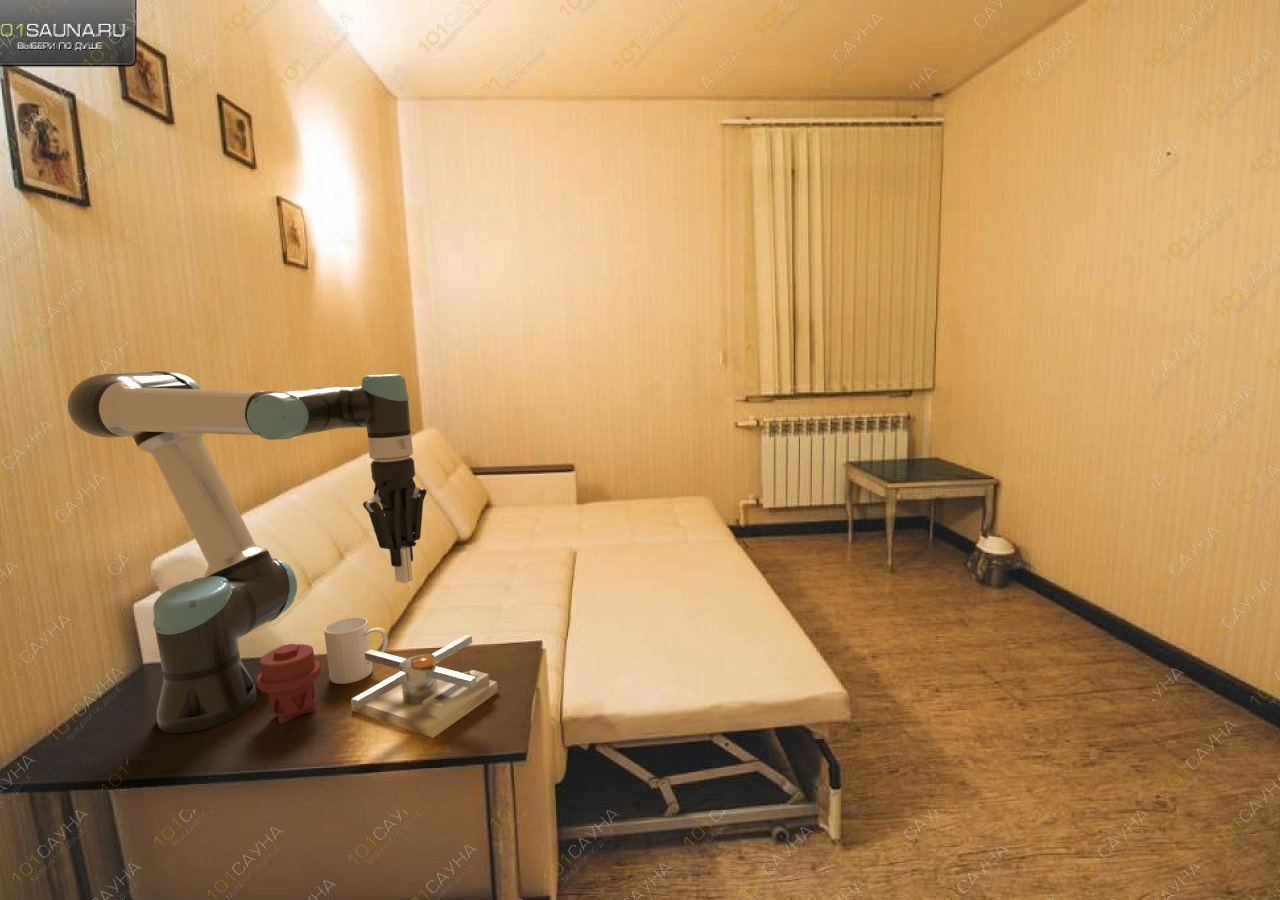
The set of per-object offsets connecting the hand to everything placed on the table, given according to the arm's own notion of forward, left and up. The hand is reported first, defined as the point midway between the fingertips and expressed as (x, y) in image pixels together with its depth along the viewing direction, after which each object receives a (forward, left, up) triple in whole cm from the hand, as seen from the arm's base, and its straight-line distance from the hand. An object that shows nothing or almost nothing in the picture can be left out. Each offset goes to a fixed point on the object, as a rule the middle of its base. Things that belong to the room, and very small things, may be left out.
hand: (404, 580), depth 123 cm
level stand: (+8, -5, -20) cm, 22 cm away
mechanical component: (-11, -18, -21) cm, 29 cm away
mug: (-12, -3, -21) cm, 24 cm away
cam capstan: (+9, -7, -18) cm, 21 cm away
